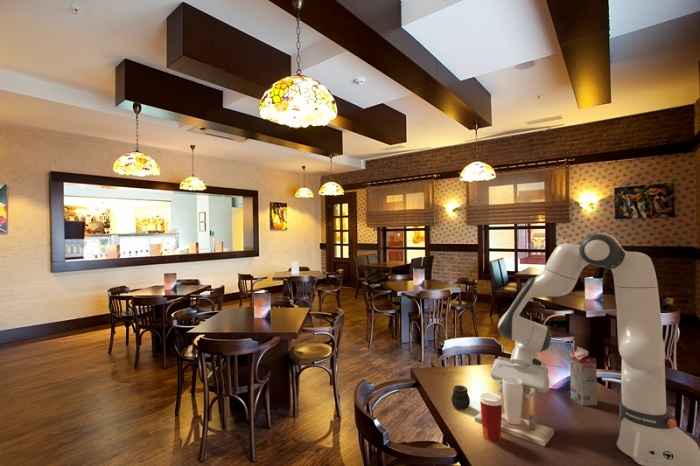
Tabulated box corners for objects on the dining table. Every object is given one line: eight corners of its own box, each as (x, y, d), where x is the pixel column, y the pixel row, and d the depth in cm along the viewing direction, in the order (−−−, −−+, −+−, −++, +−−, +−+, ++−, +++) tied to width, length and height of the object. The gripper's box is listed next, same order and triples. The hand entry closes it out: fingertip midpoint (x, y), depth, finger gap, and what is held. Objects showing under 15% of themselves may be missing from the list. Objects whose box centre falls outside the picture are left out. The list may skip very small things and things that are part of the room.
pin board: (554, 433, 125) (553, 416, 125) (544, 446, 118) (544, 428, 118) (487, 410, 142) (486, 395, 142) (474, 421, 134) (474, 405, 134)
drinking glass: (525, 427, 126) (524, 384, 126) (505, 425, 127) (504, 383, 128) (520, 417, 133) (520, 377, 133) (501, 416, 134) (500, 376, 134)
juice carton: (581, 405, 146) (580, 351, 146) (570, 398, 153) (569, 346, 153) (597, 404, 146) (596, 351, 147) (586, 397, 153) (584, 346, 153)
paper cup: (507, 437, 123) (506, 396, 123) (498, 446, 118) (497, 403, 118) (485, 428, 129) (484, 389, 129) (475, 437, 123) (474, 396, 124)
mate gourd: (472, 406, 146) (471, 381, 147) (467, 413, 140) (466, 388, 140) (454, 401, 150) (454, 378, 150) (449, 409, 144) (448, 384, 144)
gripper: (493, 352, 144) (483, 383, 137) (549, 364, 130) (541, 400, 122) (498, 360, 147) (488, 391, 140) (553, 372, 133) (546, 408, 126)
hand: (513, 395), depth 131 cm, fingers open, 8 cm apart
